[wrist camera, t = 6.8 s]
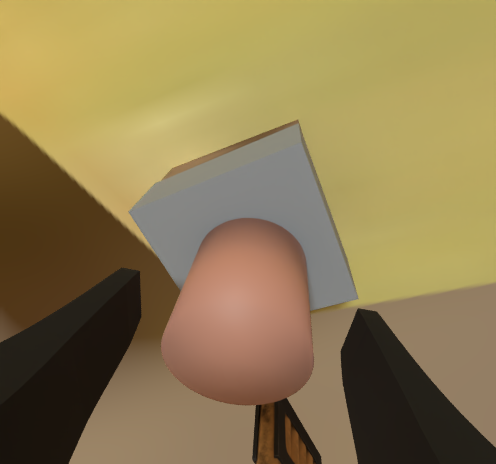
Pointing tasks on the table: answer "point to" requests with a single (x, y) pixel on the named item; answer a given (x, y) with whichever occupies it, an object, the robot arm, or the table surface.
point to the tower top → (249, 210)
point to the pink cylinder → (243, 316)
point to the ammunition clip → (281, 436)
